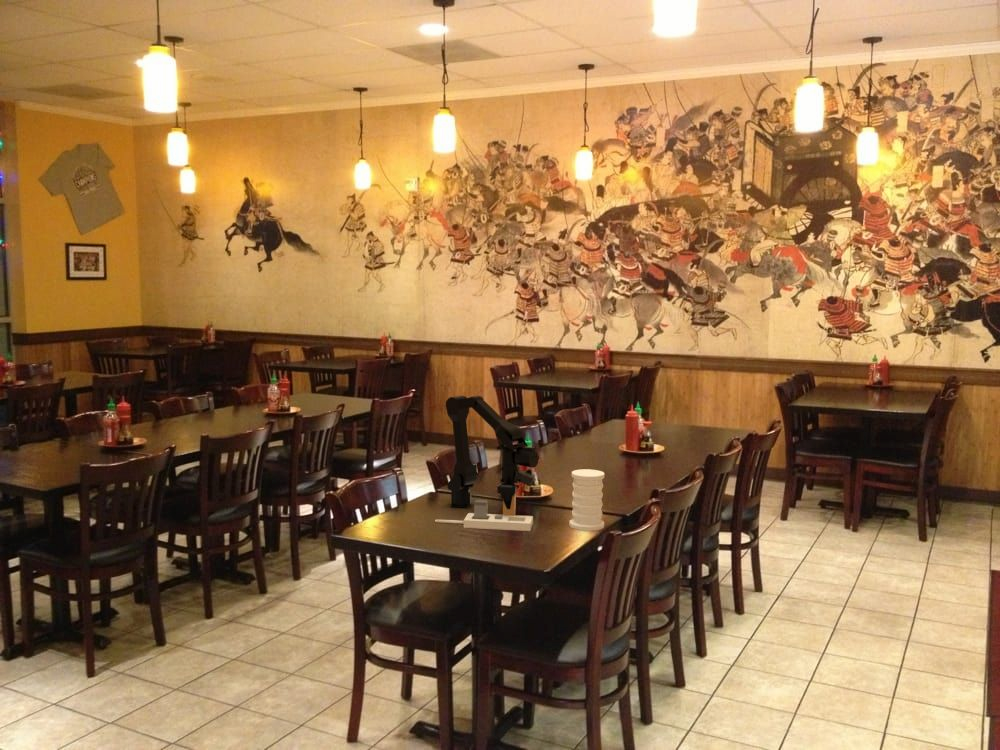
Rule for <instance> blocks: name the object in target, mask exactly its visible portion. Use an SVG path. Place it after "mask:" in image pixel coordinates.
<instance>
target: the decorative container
mask: <svg viewBox="0 0 1000 750" xmlns="http://www.w3.org/2000/svg"><path fill="white" fill-rule="evenodd" d="M571 477H572V478H573V481H572V487H573V490H572V493H571V495H572V502H571V504H572V505H571V506H572V511H571V515H572V519H570V520H569V521H568V522H569V527H570V528H572V529H574V530H578V531H585V532H587V531H589V532H590V531H591V532H593V531H600V530H602V529H604V528H605V522H604V520H602V517H603V511H602V507H603V500H602V499H603V495H604V493H603V492H602V491H603V488H604V483H603V479H605V472H604V471H602V470H597V469H589V468H586V469H585V468H584V469H575V470H573V471H571Z"/></svg>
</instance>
